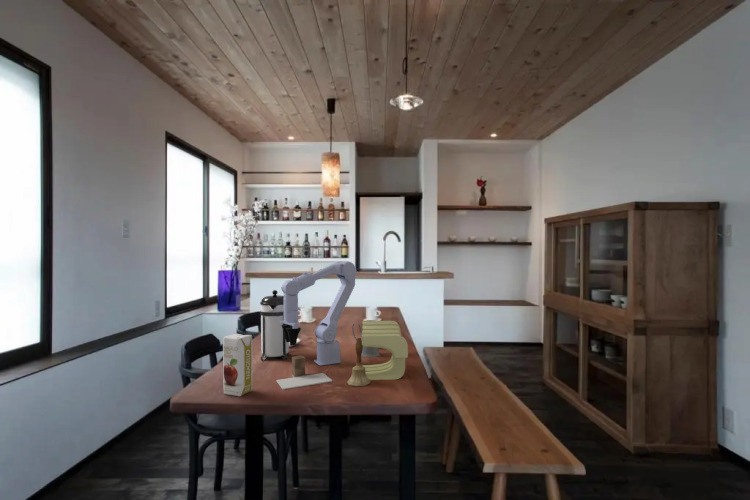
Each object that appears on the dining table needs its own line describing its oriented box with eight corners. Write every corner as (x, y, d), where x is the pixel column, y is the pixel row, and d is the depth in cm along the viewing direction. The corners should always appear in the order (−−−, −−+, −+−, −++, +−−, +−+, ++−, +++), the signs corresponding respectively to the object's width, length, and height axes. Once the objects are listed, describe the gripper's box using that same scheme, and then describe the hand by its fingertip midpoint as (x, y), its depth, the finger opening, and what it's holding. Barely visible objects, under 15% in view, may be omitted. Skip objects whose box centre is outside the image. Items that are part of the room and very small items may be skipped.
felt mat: (323, 374, 152) (323, 372, 152) (332, 381, 143) (332, 380, 143) (276, 381, 144) (276, 380, 144) (282, 389, 135) (282, 388, 135)
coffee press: (300, 356, 178) (300, 289, 178) (270, 363, 166) (270, 292, 166) (278, 349, 189) (278, 287, 189) (248, 356, 177) (248, 290, 177)
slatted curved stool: (408, 387, 136) (407, 335, 136) (362, 387, 136) (361, 336, 136) (400, 362, 166) (400, 320, 166) (362, 363, 166) (362, 320, 166)
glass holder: (373, 358, 174) (372, 324, 174) (347, 353, 181) (346, 321, 181) (383, 353, 181) (383, 321, 181) (357, 349, 189) (357, 318, 189)
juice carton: (235, 387, 138) (235, 332, 138) (255, 390, 134) (255, 334, 134) (219, 394, 131) (219, 337, 131) (240, 398, 127) (240, 339, 127)
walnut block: (302, 373, 153) (302, 355, 153) (305, 376, 149) (305, 357, 149) (292, 375, 151) (292, 356, 151) (294, 378, 147) (294, 359, 147)
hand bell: (359, 377, 147) (359, 334, 147) (375, 382, 141) (374, 338, 141) (342, 382, 141) (342, 338, 141) (358, 388, 136) (357, 341, 136)
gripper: (276, 308, 164) (277, 341, 164) (285, 313, 152) (285, 348, 151) (293, 307, 168) (293, 339, 168) (303, 311, 155) (303, 346, 155)
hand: (291, 343), depth 160 cm, fingers open, 6 cm apart
